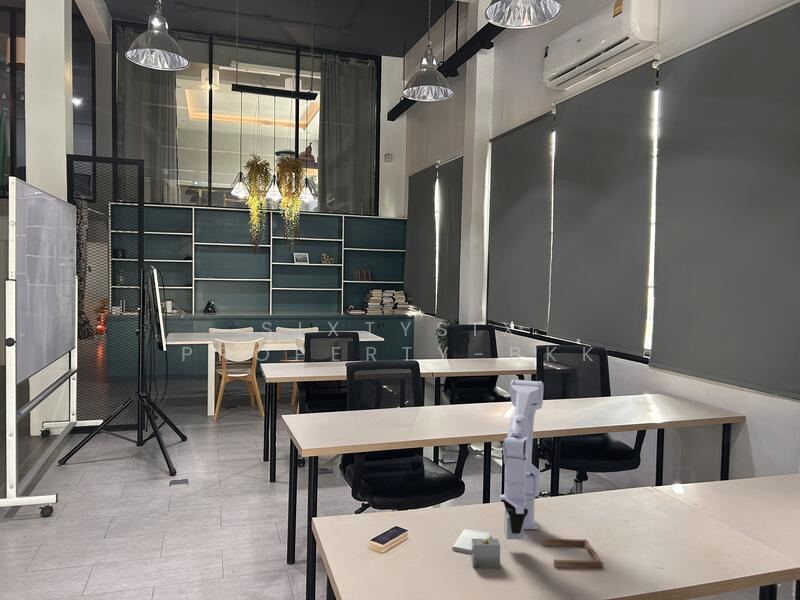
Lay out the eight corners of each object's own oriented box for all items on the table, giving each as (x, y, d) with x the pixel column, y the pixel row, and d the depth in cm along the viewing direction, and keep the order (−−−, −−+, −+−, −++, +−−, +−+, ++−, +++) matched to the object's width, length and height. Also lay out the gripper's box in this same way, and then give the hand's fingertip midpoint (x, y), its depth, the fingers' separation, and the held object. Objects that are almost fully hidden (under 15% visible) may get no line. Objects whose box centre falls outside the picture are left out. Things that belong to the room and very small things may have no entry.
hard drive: (481, 552, 154) (491, 533, 165) (452, 546, 157) (464, 528, 168) (481, 558, 154) (491, 538, 165) (452, 552, 157) (464, 533, 168)
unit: (471, 560, 151) (471, 535, 151) (497, 560, 151) (497, 536, 151) (473, 567, 147) (473, 542, 147) (499, 568, 147) (500, 543, 147)
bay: (542, 544, 161) (542, 538, 161) (586, 544, 161) (586, 539, 161) (554, 567, 148) (554, 561, 148) (602, 568, 148) (602, 562, 148)
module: (504, 532, 159) (504, 510, 159) (520, 532, 159) (520, 510, 159) (507, 539, 155) (507, 516, 154) (523, 539, 155) (524, 516, 154)
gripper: (496, 471, 164) (495, 517, 164) (505, 490, 149) (504, 540, 150) (520, 471, 163) (519, 517, 164) (532, 490, 149) (531, 541, 150)
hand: (514, 528), depth 157 cm, fingers closed on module, 5 cm apart
